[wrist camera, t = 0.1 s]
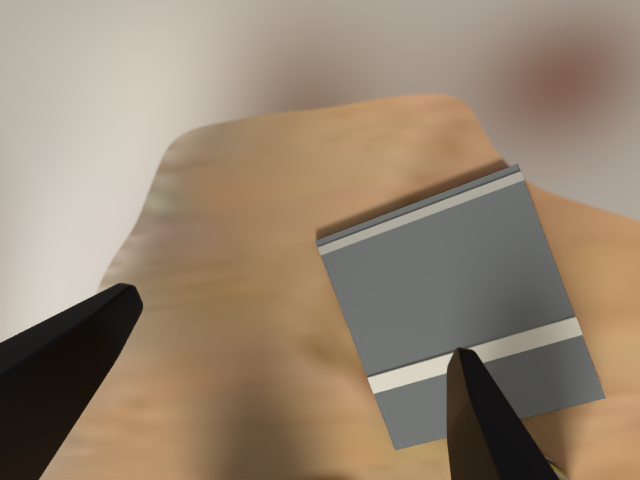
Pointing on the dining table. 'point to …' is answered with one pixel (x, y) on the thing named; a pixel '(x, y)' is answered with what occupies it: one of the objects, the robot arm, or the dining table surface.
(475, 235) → the mat
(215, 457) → the dining table surface
